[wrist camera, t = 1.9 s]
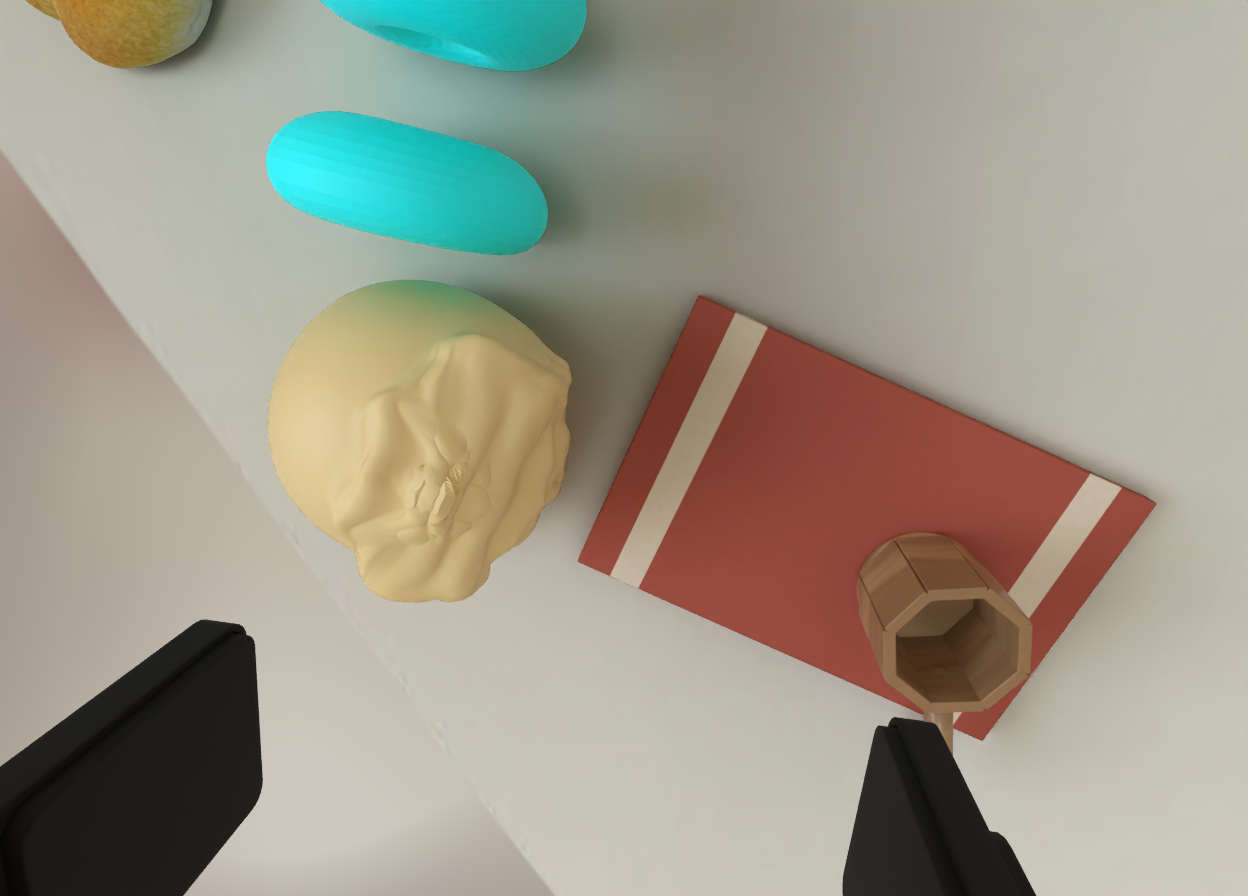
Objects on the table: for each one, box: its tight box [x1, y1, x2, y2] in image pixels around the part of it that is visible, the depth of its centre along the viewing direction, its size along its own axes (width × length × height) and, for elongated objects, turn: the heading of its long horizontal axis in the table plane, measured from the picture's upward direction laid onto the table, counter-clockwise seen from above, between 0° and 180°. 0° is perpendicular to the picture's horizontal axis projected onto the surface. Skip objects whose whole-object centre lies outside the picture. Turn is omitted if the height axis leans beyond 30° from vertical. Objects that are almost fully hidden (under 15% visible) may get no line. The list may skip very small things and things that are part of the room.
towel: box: [578, 295, 1156, 741], centre depth 34 cm, size 14×22×1 cm, turn 67°
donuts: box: [266, 0, 587, 255], centre depth 26 cm, size 10×10×10 cm
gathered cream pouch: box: [268, 280, 572, 602], centre depth 29 cm, size 12×12×11 cm
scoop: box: [856, 532, 1033, 756], centre depth 32 cm, size 13×6×6 cm, turn 7°
